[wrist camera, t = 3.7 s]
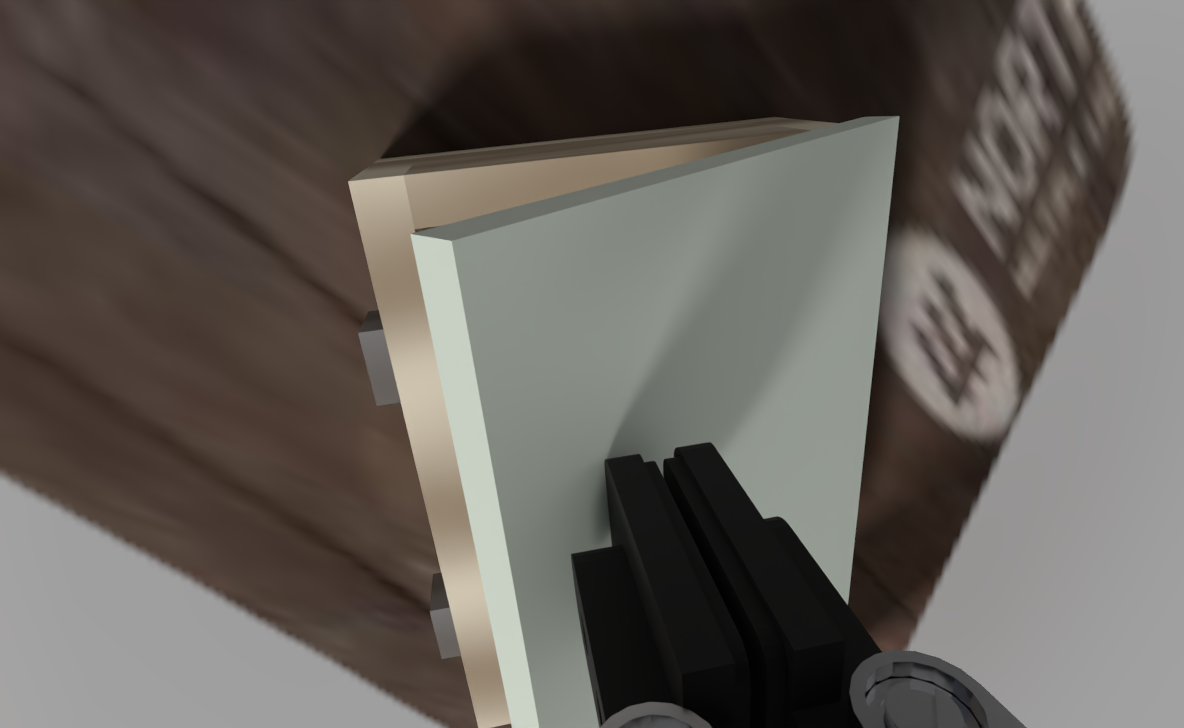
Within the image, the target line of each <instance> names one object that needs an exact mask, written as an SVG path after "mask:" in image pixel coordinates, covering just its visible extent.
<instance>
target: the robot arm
mask: <svg viewBox="0 0 1184 728" xmlns="http://www.w3.org/2000/svg"><path fill="white" fill-rule="evenodd" d="M604 467H605V478H606V489H607V500H608V510H609V521H610V532H611V543H612V546H611V547H606V548H600V549H595V550H589V551H584V552H578V553H573V554H571V562H572V570H573V578H574V586H575V594H576V601H577V608H578V614H579V621H580V627H581V633H582V639H583V644H584V650H585V655H586V661H587V666H588V671H589V676H590V682H591V687H592V692H593V697H594V703H595V708H596V713H597V718H598V724H599V728H1026V727H1025V726H1024V725H1023V724H1022V723H1021V722H1020V721H1019V720H1018V719H1017V718H1016V717H1014V716H1013V715H1012V714H1011V713H1010V712H1009V711H1008V710H1007V709H1006V708H1005V707H1004V706H1003V705H1002V704H1001V703H1000V702H999V701H998V700H996V699H995V698H994V697H993V696H992V695H991V694H990V693H989V692H988V691H987V690H986V689H985V688H984V687H983V686H982V685H981V684H979V683H978V682H977V681H976V680H974V679H973V678H972V677H970V676H969V675H968V674H966V673H965V672H964V671H962V670H961V669H960V668H958V667H956V666H954V665H952V664H950V663H948V662H945V661H943V660H941V659H940V658H937V657H934V656H930V655H926V654H923V653H919V652H916V651H900V650H892V651H887V652H883V653H882V651H881V650H880V649H879V647H878V646H877V645H876V643H875V642H874V641H873V639H872V638H871V636H870V635H869V634H868V632H867V631H866V630H865V628H864V627H863V625H862V624H861V623H860V621H859V620H858V619H857V617H856V616H855V614H854V613H853V612H852V610H851V609H850V608H849V606H848V605H847V603H846V602H845V601H844V599H843V598H842V597H841V595H840V594H839V592H838V591H837V590H836V588H835V587H834V586H833V584H832V583H831V581H830V580H829V579H828V577H827V576H826V575H825V573H824V572H823V571H822V569H821V568H820V566H819V565H818V564H817V562H816V561H815V560H814V558H813V557H812V555H811V554H810V553H809V551H808V550H807V549H806V547H805V546H804V544H803V543H802V542H801V540H800V539H799V538H798V536H797V535H796V533H795V532H794V531H793V529H792V528H791V527H790V525H789V524H788V523H787V522H786V521H785V520H784V519H783V518H781V517H779V516H776V517H771V518H765V519H763V517H762V516H761V514H760V513H759V511H758V510H757V508H756V507H755V505H754V504H753V502H752V501H751V499H750V498H749V496H748V495H747V493H746V492H745V490H744V489H743V488H742V486H741V485H740V483H739V482H738V480H737V479H736V477H735V476H734V474H733V473H732V471H731V470H730V468H729V467H728V465H727V464H726V462H725V461H724V460H723V458H722V457H721V455H720V454H719V452H718V451H717V449H716V448H715V446H714V445H713V444H712V443H711V442H707V443H700V444H694V445H688V446H682V447H676V448H675V450H674V457H673V458H667V459H664V461H663V476H662V474H661V472H660V469H659V467H658V465H657V463H656V462H655V461H649V462H644V461H643V458H642V457H641V455H640V454H634V455H628V456H622V457H616V458H610V459H605V461H604ZM663 477H664V478H663Z"/></svg>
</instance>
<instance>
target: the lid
mask: <svg viewBox="0 0 1184 728" xmlns="http://www.w3.org/2000/svg"><path fill="white" fill-rule="evenodd" d="M898 126H899V116H878V117H862V118H858V119H854V120H850V121H846V122H843V123H839V124H835V125H831V126H827V127H823V128H819V129H815V130H812V131H808V132H804V133H800V134H796V135H792V136H788V137H784V138H780V139H777V140H773V141H769V142H765V143H761V144H757V145H753V146H749V147H746V148H742V149H738V150H734V151H730V152H726V153H722V154H718V155H714V156H711V157H707V158H703V159H699V160H695V161H691V162H687V163H683V164H680V165H676V166H672V167H668V168H664V169H660V170H656V171H652V172H648V173H645V174H641V175H637V176H633V177H629V178H625V179H621V180H617V181H614V182H610V183H606V184H602V185H598V186H594V187H590V188H586V189H583V190H579V191H575V192H571V193H567V194H563V195H559V196H555V197H551V198H548V199H544V200H540V201H536V202H532V203H528V204H524V205H520V206H517V207H513V208H509V209H505V210H501V211H497V212H493V213H489V214H485V215H482V216H478V217H474V218H470V219H466V220H462V221H458V222H454V223H451V224H447V225H443V226H439V227H435V228H431V229H427V230H423V231H419V232H416V233H412V234H410V235H411V240H412V245H413V249H414V254H415V259H416V264H417V269H418V274H419V279H420V283H421V288H422V293H423V298H424V303H425V308H426V312H427V317H428V322H429V327H430V332H431V337H432V342H433V346H434V351H435V356H436V361H437V366H438V371H439V375H440V380H441V385H442V390H443V395H444V400H445V405H446V409H447V414H448V419H449V424H450V429H451V434H452V438H453V443H454V448H455V453H456V458H457V463H458V468H459V472H460V477H461V482H462V487H463V492H464V497H465V501H466V506H467V511H468V516H469V521H470V526H471V531H472V535H473V540H474V545H475V550H476V555H477V560H478V564H479V569H480V574H481V579H482V584H483V589H484V594H485V598H486V603H487V608H488V613H489V618H490V623H491V627H492V632H493V637H494V642H495V647H496V652H497V657H498V661H499V666H500V671H501V676H502V681H503V686H504V690H505V695H506V700H507V705H508V710H509V715H510V720H511V724H512V728H599V724H598V718H597V713H596V708H595V703H594V697H593V692H592V687H591V682H590V676H589V671H588V666H587V661H586V655H585V650H584V644H583V639H582V633H581V627H580V621H579V614H578V608H577V601H576V594H575V586H574V578H573V570H572V562H571V554H573V553H578V552H584V551H589V550H595V549H600V548H606V547H611V546H612V543H611V532H610V521H609V510H608V500H607V489H606V478H605V467H604V461H605V459H610V458H616V457H622V456H628V455H634V454H640V455H641V457H642V458H643V461H644V462H649V461H655V462H656V463H657V465H658V467H659V469H660V472H661V474H662V476H663V461H664V459H667V458H673V457H674V450H675V448H676V447H682V446H688V445H694V444H700V443H707V442H711V443H712V444H713V445H714V446H715V448H716V449H717V451H718V452H719V454H720V455H721V457H722V458H723V460H724V461H725V462H726V464H727V465H728V467H729V468H730V470H731V471H732V473H733V474H734V476H735V477H736V479H737V480H738V482H739V483H740V485H741V486H742V488H743V489H744V490H745V492H746V493H747V495H748V496H749V498H750V499H751V501H752V502H753V504H754V505H755V507H756V508H757V510H758V511H759V513H760V514H761V516H762V517H763V519H765V518H771V517H776V516H779V517H781V518H783V519H784V520H785V521H786V522H787V523H788V524H789V525H790V527H791V528H792V529H793V531H794V532H795V533H796V535H797V536H798V538H799V539H800V540H801V542H802V543H803V544H804V546H805V547H806V549H807V550H808V551H809V553H810V554H811V555H812V557H813V558H814V560H815V561H816V562H817V564H818V565H819V566H820V568H821V569H822V571H823V572H824V573H825V575H826V576H827V577H828V579H829V580H830V581H831V583H832V584H833V586H834V587H835V588H836V590H837V591H838V592H839V594H840V595H841V597H842V598H843V599H844V601H845V602H846V603H847V605H848V600H849V590H850V581H851V571H852V562H853V552H854V543H855V533H856V524H857V514H858V505H859V495H860V486H861V476H862V467H863V457H864V448H865V439H866V429H867V420H868V410H869V401H870V391H871V382H872V372H873V363H874V353H875V344H876V334H877V325H878V315H879V306H880V296H881V287H882V277H883V268H884V258H885V249H886V239H887V230H888V221H889V211H890V202H891V192H892V183H893V173H894V164H895V154H896V145H897V135H898ZM663 478H664V477H663Z"/></svg>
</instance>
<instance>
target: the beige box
mask: <svg viewBox="0 0 1184 728" xmlns="http://www.w3.org/2000/svg"><path fill="white" fill-rule="evenodd" d="M835 124H839V123H830V122H820V121H810V120H800V119H790V118H780V117H770V118H761V119H751V120H742V121H733V122H723V123H714V124H704V125H695V126H686V127H676V128H667V129H657V130H648V131H639V132H629V133H620V134H610V135H601V136H592V137H582V138H573V139H563V140H554V141H545V142H535V143H526V144H516V145H507V146H498V147H488V148H479V149H469V150H460V151H450V152H441V153H432V154H422V155H413V156H403V157H394V158H385V159H379V160H377V161H376V162H374V163H373V164H372V165H370V166H369V167H367V168H366V169H365V170H363V171H362V172H361V173H359V174H358V175H356V176H355V177H354V178H352V179H351V180H349V181H348V183H349V187H350V192H351V196H352V200H353V204H354V208H355V212H356V217H357V221H358V225H359V229H360V233H361V238H362V242H363V246H364V250H365V254H366V259H367V263H368V267H369V271H370V275H371V279H372V284H373V288H374V292H375V296H376V300H377V305H378V309H379V310H377V311H370V312H368V314H367V316H366V318H365V320H364V322H363V324H362V326H361V328H360V330H359V332H358V334H359V338H360V342H361V346H362V350H363V354H364V358H365V362H366V366H367V369H368V373H369V377H370V381H371V385H372V389H373V393H374V397H375V401H376V404H377V406H379V405H385V404H392V403H399V402H401V405H402V409H403V413H404V418H405V422H406V426H407V430H408V434H409V439H410V443H411V447H412V451H413V455H414V460H415V464H416V468H417V472H418V476H419V480H420V485H421V489H422V493H423V497H424V501H425V506H426V510H427V514H428V518H429V522H430V526H431V531H432V535H433V539H434V543H435V547H436V552H437V556H438V560H439V564H440V568H441V573H437V574H433V582H432V592H431V603H430V614H431V618H432V622H433V626H434V630H435V634H436V638H437V642H438V646H439V649H440V653H441V657H442V659H445V658H450V657H455V656H460V655H461V656H462V660H463V665H464V669H465V673H466V677H467V681H468V686H469V690H470V694H471V698H472V702H473V707H474V711H475V715H476V719H477V723H478V727H479V728H491V727H496V726H500V725H505V724H510V723H511V720H510V715H509V710H508V705H507V700H506V695H505V690H504V686H503V681H502V676H501V671H500V666H499V661H498V657H497V652H496V647H495V642H494V637H493V632H492V627H491V623H490V618H489V613H488V608H487V603H486V598H485V594H484V589H483V584H482V579H481V574H480V569H479V564H478V560H477V555H476V550H475V545H474V540H473V535H472V531H471V526H470V521H469V516H468V511H467V506H466V501H465V497H464V492H463V487H462V482H461V477H460V472H459V468H458V463H457V458H456V453H455V448H454V443H453V438H452V434H451V429H450V424H449V419H448V414H447V409H446V405H445V400H444V395H443V390H442V385H441V380H440V375H439V371H438V366H437V361H436V356H435V351H434V346H433V342H432V337H431V332H430V327H429V322H428V317H427V312H426V308H425V303H424V298H423V293H422V288H421V283H420V279H419V274H418V269H417V264H416V259H415V254H414V249H413V245H412V240H411V235H410V234H412V233H416V232H419V231H423V230H427V229H431V228H435V227H439V226H443V225H447V224H451V223H454V222H458V221H462V220H466V219H470V218H474V217H478V216H482V215H485V214H489V213H493V212H497V211H501V210H505V209H509V208H513V207H517V206H520V205H524V204H528V203H532V202H536V201H540V200H544V199H548V198H551V197H555V196H559V195H563V194H567V193H571V192H575V191H579V190H583V189H586V188H590V187H594V186H598V185H602V184H606V183H610V182H614V181H617V180H621V179H625V178H629V177H633V176H637V175H641V174H645V173H648V172H652V171H656V170H660V169H664V168H668V167H672V166H676V165H680V164H683V163H687V162H691V161H695V160H699V159H703V158H707V157H711V156H714V155H718V154H722V153H726V152H730V151H734V150H738V149H742V148H746V147H749V146H753V145H757V144H761V143H765V142H769V141H773V140H777V139H780V138H784V137H788V136H792V135H796V134H800V133H804V132H808V131H812V130H815V129H819V128H823V127H827V126H831V125H835Z"/></svg>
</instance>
